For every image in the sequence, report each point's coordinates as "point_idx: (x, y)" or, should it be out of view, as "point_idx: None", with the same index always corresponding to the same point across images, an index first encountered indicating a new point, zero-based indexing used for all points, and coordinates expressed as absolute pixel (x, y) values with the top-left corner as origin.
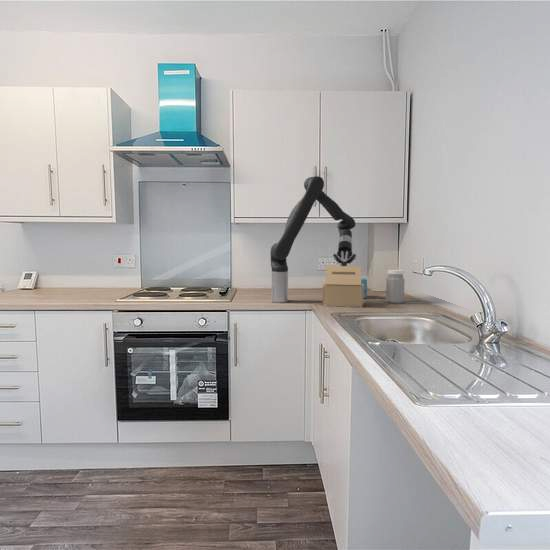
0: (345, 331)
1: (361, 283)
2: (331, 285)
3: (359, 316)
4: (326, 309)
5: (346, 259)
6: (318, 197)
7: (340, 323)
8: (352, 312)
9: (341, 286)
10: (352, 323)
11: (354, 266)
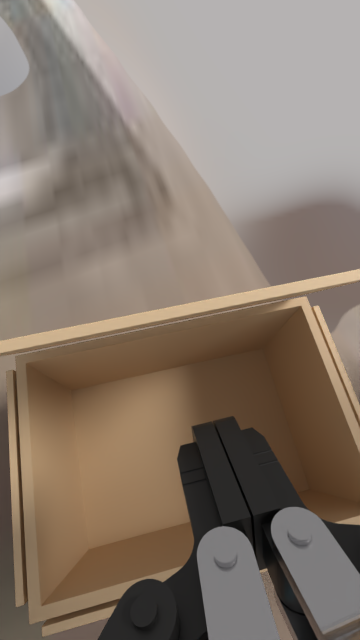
0: (69, 35)
1: (42, 605)
2: (255, 314)
3: (54, 191)
4: (217, 267)
5: (222, 608)
6: None
7: (99, 92)
8: (93, 248)
9: (178, 323)
10: (64, 102)
11: (22, 337)
